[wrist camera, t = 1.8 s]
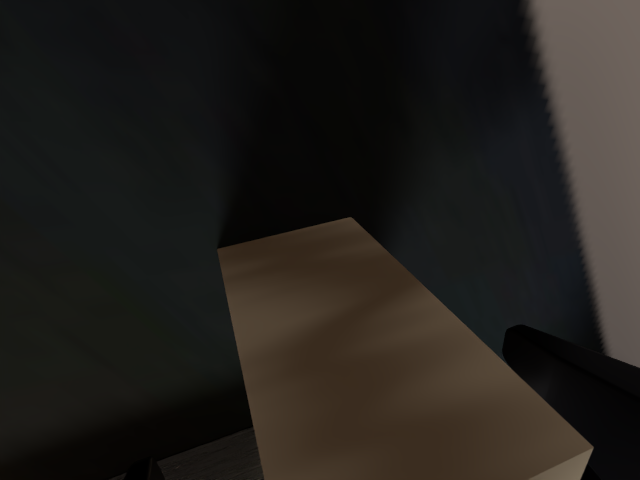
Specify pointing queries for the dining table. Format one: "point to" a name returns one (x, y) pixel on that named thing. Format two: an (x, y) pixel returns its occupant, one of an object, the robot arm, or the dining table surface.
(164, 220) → the dining table surface
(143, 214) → the dining table surface
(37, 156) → the dining table surface
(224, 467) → the double square frame
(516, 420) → the maple peg
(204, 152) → the dining table surface
